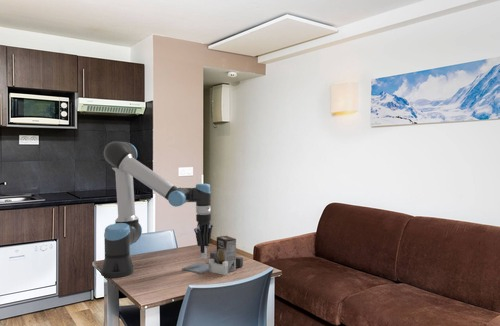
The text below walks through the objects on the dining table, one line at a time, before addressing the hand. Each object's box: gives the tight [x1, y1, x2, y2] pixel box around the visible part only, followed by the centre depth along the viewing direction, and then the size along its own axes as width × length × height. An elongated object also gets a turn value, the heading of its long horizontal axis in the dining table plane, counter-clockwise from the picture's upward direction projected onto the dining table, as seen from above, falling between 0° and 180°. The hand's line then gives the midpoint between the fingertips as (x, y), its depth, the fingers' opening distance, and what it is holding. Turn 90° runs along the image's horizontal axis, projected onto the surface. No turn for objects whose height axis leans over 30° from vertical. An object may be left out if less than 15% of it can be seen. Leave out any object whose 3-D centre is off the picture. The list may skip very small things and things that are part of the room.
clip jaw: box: [208, 258, 229, 276], centre depth 184 cm, size 10×2×6 cm, turn 59°
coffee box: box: [216, 235, 237, 273], centre depth 190 cm, size 9×6×16 cm
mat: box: [181, 261, 209, 275], centre depth 191 cm, size 13×13×1 cm
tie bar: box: [209, 251, 244, 268], centre depth 198 cm, size 19×3×5 cm, turn 59°
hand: (204, 258), depth 195 cm, fingers closed
